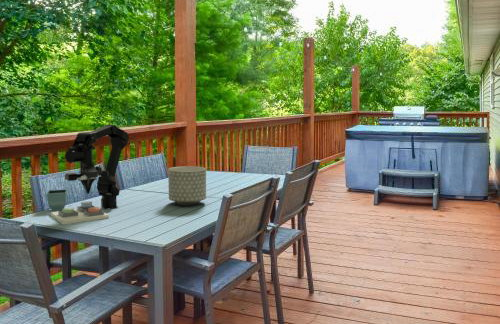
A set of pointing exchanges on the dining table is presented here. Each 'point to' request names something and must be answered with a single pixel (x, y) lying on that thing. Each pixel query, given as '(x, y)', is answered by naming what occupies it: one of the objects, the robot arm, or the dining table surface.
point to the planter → (187, 184)
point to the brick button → (93, 209)
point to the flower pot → (57, 199)
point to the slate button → (86, 204)
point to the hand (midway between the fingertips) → (87, 193)
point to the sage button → (67, 210)
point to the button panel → (79, 216)
